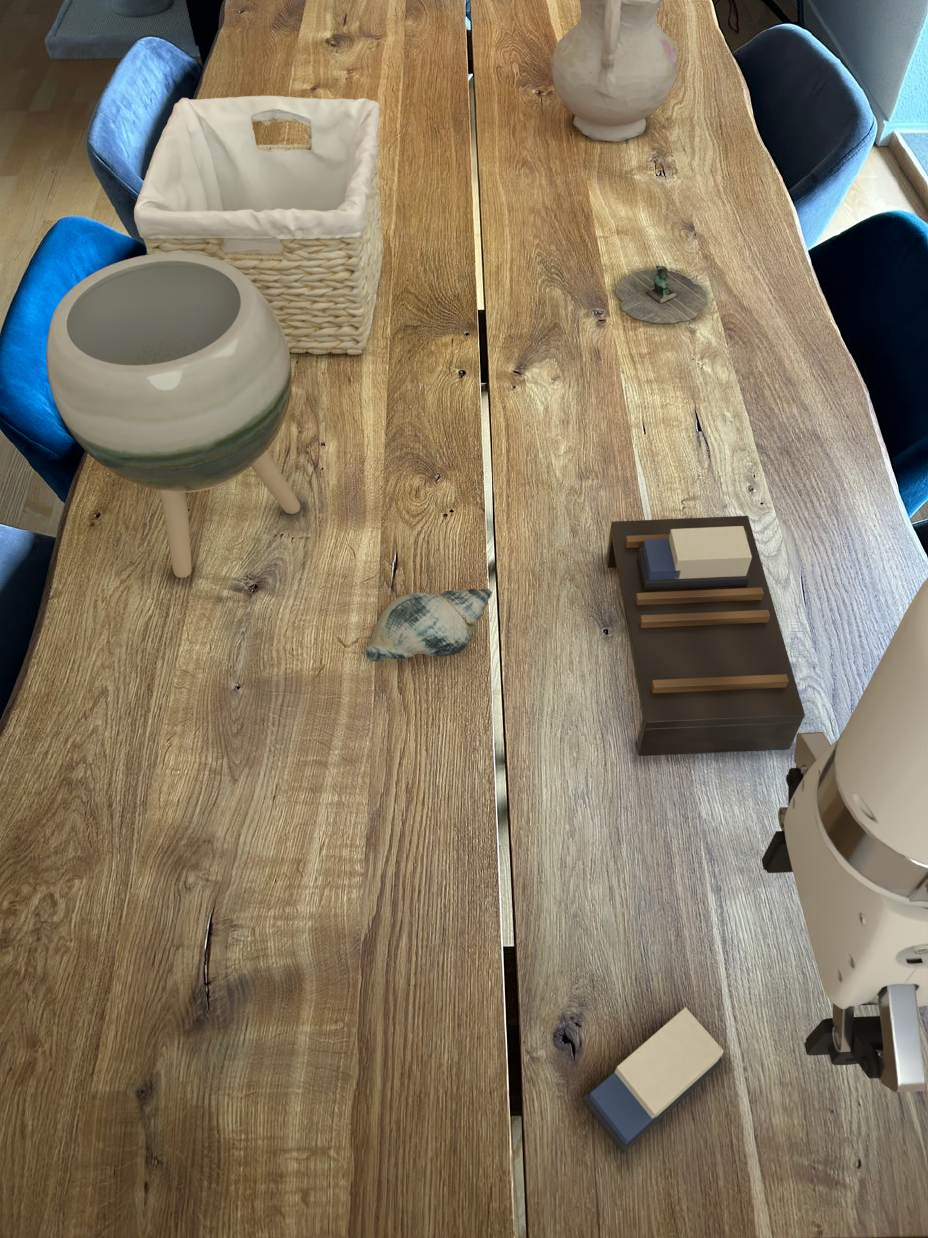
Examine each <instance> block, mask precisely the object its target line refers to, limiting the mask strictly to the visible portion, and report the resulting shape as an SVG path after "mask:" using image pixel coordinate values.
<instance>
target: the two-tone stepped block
mask: <svg viewBox="0 0 928 1238" xmlns="http://www.w3.org/2000/svg"><path fill="white" fill-rule="evenodd" d="M751 559H752V555H751V552H750V548H749V545H748V541H747V538H746V534H745V530H744V527H743V526H732V527H709V528H686V529H671V531H670V536H669V539H656V540H644V544H643V548H639V551H638V560H639V565H640V570H641V576H642V581H643V586H644V590H663V589H686V588H709V587H732V586H747V585H748V582H749V579H750V577H749V574H748V568H749V565H750V562H751Z"/></svg>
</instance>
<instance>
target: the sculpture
mask: <svg viewBox="0 0 928 1238" xmlns="http://www.w3.org/2000/svg"><path fill="white" fill-rule="evenodd" d="M655 268H656V269H646V270H645V269H644V270H640V271H636V272H634V273H633V274H632V275H627V276H625V277H624V278H623V279H622V280H620V283H619V284H618V286H617V287H616V289H615V295H616V297H617V298H618V299H619V300H621V301H622V302H621V303H620V309H621V310H622V311H623V312H625V313H626V314H627V315H628V316H630V317H632V318H633V319H637V320H639V321H640V320H641V321H645V322H649V323H654V324H658V325H662V324H676V323H680V322H687V321H690V320H692V319H694V318H696V317H697V316H698V315H699V314H700V312H702V311H703V309H704V307H705V306H706V304H707V295H706V292H705V291H704V288H703V287H702V286H701V285H699V284H696V283H694V282H693V281H692V280H691V279H690V278H688V277H687V276H685V275H683V274H682V273H679V272H675V271H672V270H668V268H666V265H664V266H663V265H660V266H659V265H656V266H655Z"/></svg>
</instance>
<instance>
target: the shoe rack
mask: <svg viewBox="0 0 928 1238" xmlns="http://www.w3.org/2000/svg"><path fill="white" fill-rule="evenodd" d="M732 526H743V527H744V530H745V534H746V538H747V541H748V545H749V548H750V552H751V555H752V559H751V562H750V565H749V568H748V574H749V577H750V579H749V582H748V585H747V586H732V587H709V588H686V589H663V590H644V586H643V581H642V576H641V570H640V565H639V560H638V551H639V548H643V544H644V540H656V539H669V536H670V531H671V529H686V528H709V527H732ZM607 542H608V543H607V552H606V558H605V561H606V562H605V563H606V567H607V569H614V568H615V569H616V570H617V577H618V582H619V583H618V584H619V588H620V594H621V599H622V605H623V612H624V617H625V624H626V628H627V634H628V641H629V646H630V652H631V658H632V659H631V660H632V664H633V671H634V676H635V681H636V687H637V694H638V699H639V705H640V710H641V717H642V719H641V723H640V728H639V733H638V737H637V742H636V750H637V756H638V757H651V756H672V755H675V756H676V755H691V754H692V755H696V754H718V753H741V752H760V751H782V750H783V751H785V750H786V751H787V750H790V748H791V746H792V745H793V742H794V740H795V738H796V737H797V734H798V731H799V729H800V727H801V725H802V723H803V721H804V718H805V716H806V714H805V710H804V707H803V702H802V700H801V696H800V692H799V689H798V685H797V682H796V680H795V679H796V678H795V675H794V671H793V667H792V665H791V661H790V657H789V654H788V651H787V648H786V644H785V641H784V636H783V633H782V630H781V627H780V626H781V625H780V622H779V620H778V615H777V612H776V608H775V605H774V601H773V598H772V595H771V592H770V588H769V584H768V581H767V577H766V574H765V571H764V567H763V564H762V559H761V556H760V553H759V550H758V546H757V542H756V539H755V535H754V531H753V528H752V525H751V521H750V518H749V515H732V516H730V515H728V516H707V517H685V518H663V519H661V518H660V519H658V518H657V519H640V520H639V519H638V520H614V521H611V522H610V528H609V535H608V541H607Z"/></svg>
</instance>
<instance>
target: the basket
mask: <svg viewBox="0 0 928 1238" xmlns="http://www.w3.org/2000/svg"><path fill="white" fill-rule="evenodd" d="M380 108H381V106H380V103H379V102H377V101H376V100H371V99H369V98H367V97H366V98H365V97H361V98H357V99H353V98H345V97H339V98H326V97H323V98H319V97H301V96H299V97H293V96H283V95H248V96H238V97H235V96H234V97H233V96H227V97H214V98H199V99H194V98H193V99H192V98H191V99H189V98H188V97H181V98H180V99H179V100H178V102H175V103H174V105H173V109H172V111H171V114H170V116H169V118H168V120H167V124H166V125H165V127H164V128H163V130H162V132H161V135H160V138H159V140H158V142H157V144H156V146H155V148H154V151H153V153H152V156H151V160H150V162H149V165H148V169H147V170H146V173H145V176H144V180H143V182H142V186H141V189H140V192H139V194H138V196H137V198H136V199H137V200H136V202H135V206H134V208H133V217H134V218H133V220H134V223H135V225H136V229H137V232H138V235H139V237H140V238H142V239H143V242H144V244H145V248H146V253H147V255H150V254H158V253H192V254H199V255H204V256H209V257H212V258H216V259H219V260H221V261H224V262H226V263H228V264H230V265H232V266H233V267H235V268H237V269H238V270H239V271H241V272H242V273H243V274H244V275H245V276H247V277H248V278H249V279H250V280H251V281H252V282H253V283H254V284H255V285H256V287H257V288H258V289H259V290H260V291H261V293H262V294H263V295H264V297H265V298H266V299H267V301H268V302H269V304H270V305H271V307H272V309H273V310H274V312H275V314H276V316H277V318H278V320H279V322H280V324H281V327H282V329H283V332H284V335H285V338H286V341H287V344H288V348H289V353H293V354H303V353H307V352H308V353H309V354H312V355H317V356H318V355H319V356H320V355H325V354H329V353H331V354H334V355H335V354H336V355H339V354H347V355H349V356H358V355H361V354H363V353H364V351H365V350H366V348H367V346H368V339H369V337H370V335H371V327H372V325H373V318H374V313H375V309H376V304H377V297H378V296H377V294H378V293H377V292H378V288H379V281H380V278H381V274H382V271H381V270H382V266H383V257H384V250H385V249H384V240H383V233H382V232H383V231H382V228H383V227H382V220H381V219H382V217H381V216H382V211H381V208H382V206H381V205H382V204H381V194H380V191H381V189H380V187H381V182H380V170H379V130H380V115H381V114H380V113H381V109H380ZM290 122H291V123H301V124H303V125H305V133H306V135H307V136H308V137H309V138H308V142H307V143H304V144H303V143H300V144H299V143H295V144H293V143H291V144H290V143H288V144H286V143H285V144H284V143H283V144H257V141H256V135H255V130H254V127H253V123H262V124H263V125H264V126H265V127H266V126H271V125H272V123H288V124H289V123H290Z"/></svg>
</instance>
